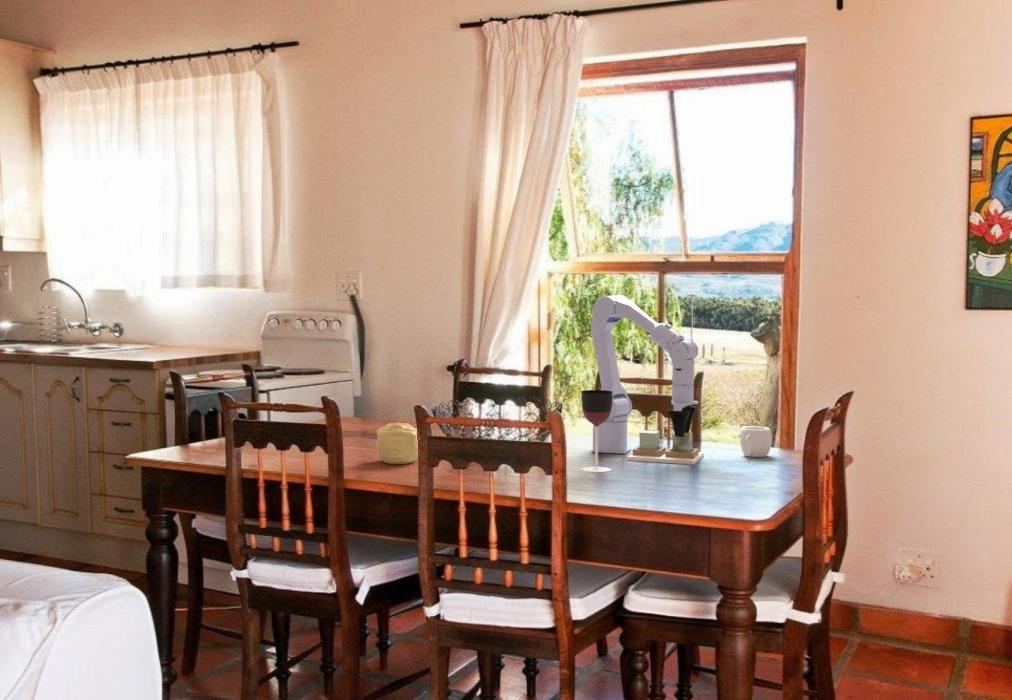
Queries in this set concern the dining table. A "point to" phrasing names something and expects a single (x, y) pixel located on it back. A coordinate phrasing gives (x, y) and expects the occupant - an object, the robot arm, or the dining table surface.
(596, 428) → the wineglass
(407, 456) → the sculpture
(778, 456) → the dining table surface
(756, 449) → the mug
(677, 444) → the green block
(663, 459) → the puzzle board
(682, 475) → the dining table surface
